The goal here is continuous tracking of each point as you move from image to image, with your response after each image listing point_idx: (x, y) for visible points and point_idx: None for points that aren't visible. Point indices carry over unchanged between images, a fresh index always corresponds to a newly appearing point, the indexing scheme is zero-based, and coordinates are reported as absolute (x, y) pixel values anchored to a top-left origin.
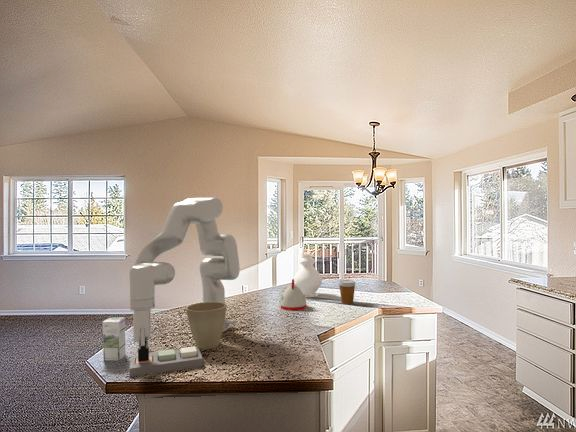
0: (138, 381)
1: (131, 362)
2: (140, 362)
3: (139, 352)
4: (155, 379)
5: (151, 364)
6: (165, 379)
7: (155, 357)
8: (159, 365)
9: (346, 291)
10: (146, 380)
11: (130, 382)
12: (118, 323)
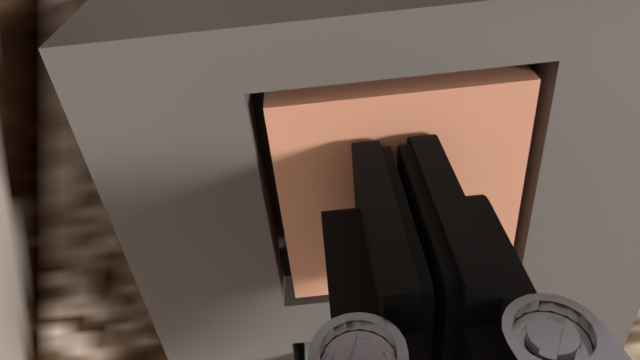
0: (54, 100)
1: (356, 29)
2: (304, 171)
3: (371, 261)
4: (101, 248)
5: (189, 301)
6: (95, 315)
7: None
8: (173, 357)
9: None
10: (80, 176)
11: (22, 9)
12: None
